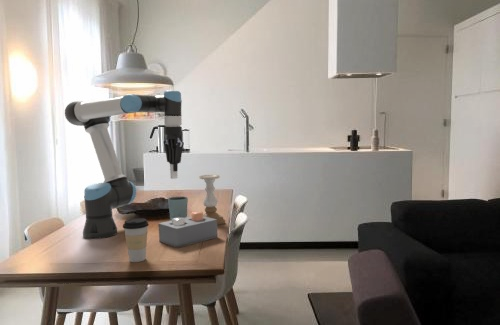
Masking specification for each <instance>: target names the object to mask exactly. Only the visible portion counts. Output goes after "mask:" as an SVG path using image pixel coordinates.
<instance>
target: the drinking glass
mask: <svg viewBox="0 0 500 325" xmlns="http://www.w3.org/2000/svg"><path fill="white" fill-rule="evenodd" d="M167 202H168V209H169V210H168V211H169V221H172V219H173V218H186V217H188V202H189V198H188V197H187V196H172V197H168V198H167Z"/></svg>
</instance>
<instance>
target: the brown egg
mask: <svg viewBox="0 0 500 325" xmlns="http://www.w3.org/2000/svg"><path fill="white" fill-rule="evenodd" d="M203 215H204V212H203V211H193V212H191V213H190V217H191V220H192V221H195V222H196V221H201V220H203Z"/></svg>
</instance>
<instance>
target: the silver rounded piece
mask: <svg viewBox="0 0 500 325" xmlns="http://www.w3.org/2000/svg"><path fill="white" fill-rule="evenodd" d="M183 224H185V223H184V218H173V219H172V225H175V226H179V225H183Z"/></svg>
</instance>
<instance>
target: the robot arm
mask: <svg viewBox="0 0 500 325" xmlns="http://www.w3.org/2000/svg"><path fill="white" fill-rule="evenodd" d="M182 102H183V100H182V93H181V92H180V91H179V90H165V91H164V92H163V95H150V94H148V95H146V94H134V93H130V94H125V95H123V96H118V97H113V98H107V99H100V100H94V101H83V100H79V101H78V100H77V101H71V102H70V103H68V104H67V105H66V107H65V108H64V109H65V110H64V117H65V119H66V120H67V122H68V123H69V124H71V125H74V126H78V127H79V126H81V127H82V126H83V128H84V131H85V132H86V133H88V134H89V135H90V138H91V141H92V144H93V148H94V150H95V153H96V157H97V159H98V162H99V165H100V168H101V171H102V175H103V178H104V181H103V182H98V183H93V184H90V185H88V186H86V187H85V188H84V192H83V193H84V195H83V197H84V208H85V209H84V210H85V222H84V227H83V230H82V237H83V238H84V239H91V240H95V239H96V240H97V239H99V240H100V239H104V238H109V237H113V236H115V235H117V234H118V227H117V225H116V222H115V219H114V217H113V210H114V209H117V208H120V207H121V208H122V207H126V206H128V205H130V204H133V202H134V200H136V197H137V189H136V186H135V184H134V183H133V182H132V181H131V180H130V181H129V180H128V177H127V175H125V174H123V172H122V169H121V165H120V163H119V160H118V157H117V154H116V151H115V148H114V145H113V142H112V139H111V136H110V133H109V130H108V128H109V127H110V121H111V117H113V116H114V117H115V116H120V115H126V114H134V113H152V114H153V113H163V114H164V117H163V118H164V120H163V121H164V122H163V123H164V124H163V125H164V135H165V136H166V140H164V141H163V144H164V149H165V157H166V162H167V163H169V167H170V168H169V170H170V174H169V175H170V179H171V180H173V179H175V180H176V179H178V170H179V169H178V168H179V167H178V165H179V164H181V163H182V162H181V161H182V155H183V154H182V153H183V147H184V143H185V142H183V141H181V135H183V131H182V129H183V128H182V124H183V123H182V121H183V120H182Z"/></svg>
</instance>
